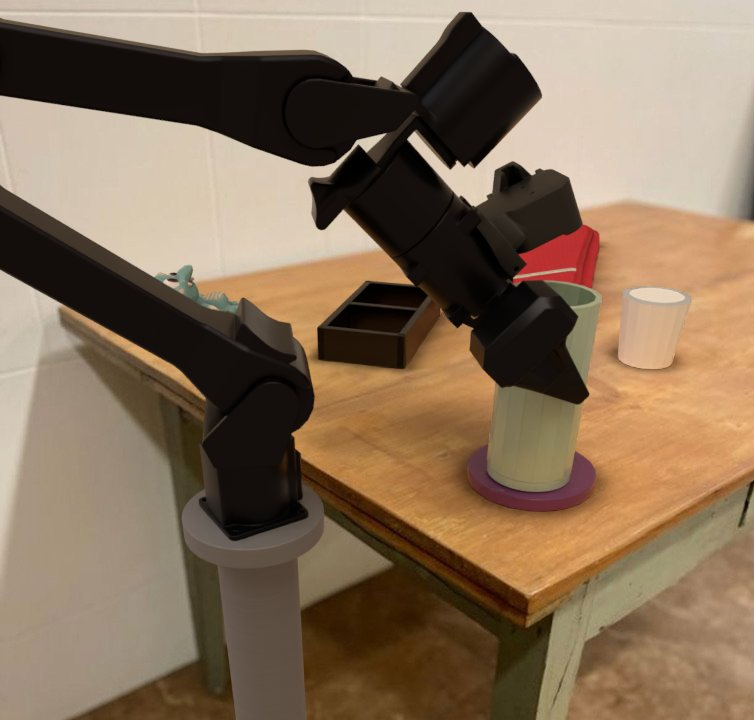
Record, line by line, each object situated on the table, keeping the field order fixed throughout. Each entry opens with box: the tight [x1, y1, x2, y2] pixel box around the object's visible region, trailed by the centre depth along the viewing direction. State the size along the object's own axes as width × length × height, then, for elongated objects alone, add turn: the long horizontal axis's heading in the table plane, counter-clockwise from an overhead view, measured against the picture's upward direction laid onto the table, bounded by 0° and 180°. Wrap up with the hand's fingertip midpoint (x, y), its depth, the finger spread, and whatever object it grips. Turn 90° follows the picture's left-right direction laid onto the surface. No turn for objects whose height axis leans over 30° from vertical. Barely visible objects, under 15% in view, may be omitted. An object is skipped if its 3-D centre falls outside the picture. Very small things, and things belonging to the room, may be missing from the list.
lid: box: [466, 444, 597, 512], centre depth 64 cm, size 10×10×1 cm
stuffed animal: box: [154, 264, 240, 314], centre depth 94 cm, size 11×7×12 cm
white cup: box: [617, 285, 693, 370], centre depth 85 cm, size 7×7×7 cm
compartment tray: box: [316, 280, 441, 370], centre depth 91 cm, size 18×9×4 cm, turn 164°
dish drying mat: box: [513, 223, 601, 289], centre depth 114 cm, size 16×41×4 cm, turn 165°
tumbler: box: [487, 280, 603, 492], centre depth 60 cm, size 6×6×14 cm
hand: (561, 374), depth 60 cm, fingers open, 9 cm apart
